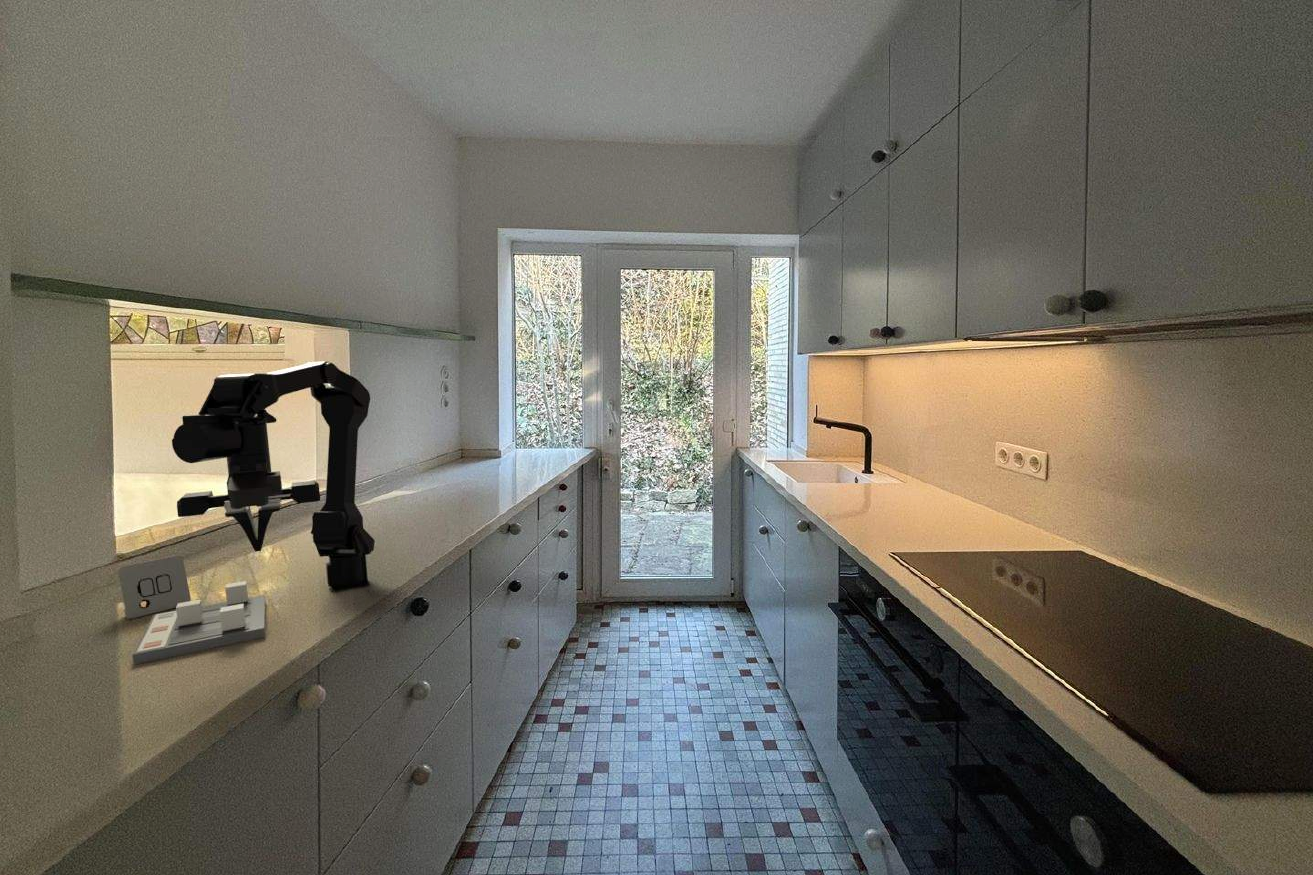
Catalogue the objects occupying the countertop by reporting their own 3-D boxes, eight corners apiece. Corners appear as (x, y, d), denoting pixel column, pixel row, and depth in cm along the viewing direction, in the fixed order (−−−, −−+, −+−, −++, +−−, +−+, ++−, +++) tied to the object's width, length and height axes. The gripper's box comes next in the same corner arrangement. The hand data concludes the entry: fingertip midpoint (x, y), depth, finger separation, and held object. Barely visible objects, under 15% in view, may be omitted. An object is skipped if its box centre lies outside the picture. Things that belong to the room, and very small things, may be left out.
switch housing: (265, 602, 114) (264, 593, 114) (265, 637, 98) (263, 626, 98) (154, 623, 106) (153, 613, 106) (133, 664, 90) (132, 653, 90)
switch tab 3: (245, 621, 100) (243, 603, 100) (245, 626, 98) (243, 607, 98) (222, 626, 98) (220, 607, 98) (221, 631, 96) (219, 612, 96)
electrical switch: (126, 621, 108) (119, 567, 107) (119, 617, 111) (112, 565, 111) (192, 605, 115) (185, 554, 115) (184, 602, 118) (177, 553, 118)
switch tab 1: (202, 617, 103) (200, 599, 103) (201, 621, 101) (199, 603, 100) (180, 621, 101) (177, 603, 101) (178, 626, 99) (176, 607, 99)
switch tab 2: (248, 597, 112) (246, 580, 112) (247, 601, 110) (246, 584, 110) (227, 600, 110) (226, 584, 110) (227, 604, 108) (225, 587, 108)
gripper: (164, 465, 88) (177, 574, 89) (316, 453, 97) (325, 552, 98) (178, 458, 97) (189, 556, 99) (315, 447, 106) (323, 537, 108)
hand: (258, 550), depth 101 cm, fingers closed
